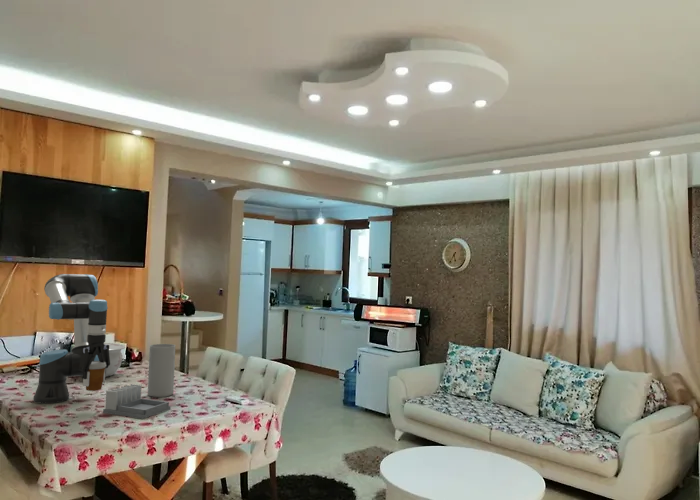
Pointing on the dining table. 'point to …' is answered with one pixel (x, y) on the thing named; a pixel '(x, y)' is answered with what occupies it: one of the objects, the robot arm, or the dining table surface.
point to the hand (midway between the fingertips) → (93, 383)
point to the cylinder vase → (161, 370)
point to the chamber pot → (114, 358)
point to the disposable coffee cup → (96, 375)
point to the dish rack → (132, 403)
